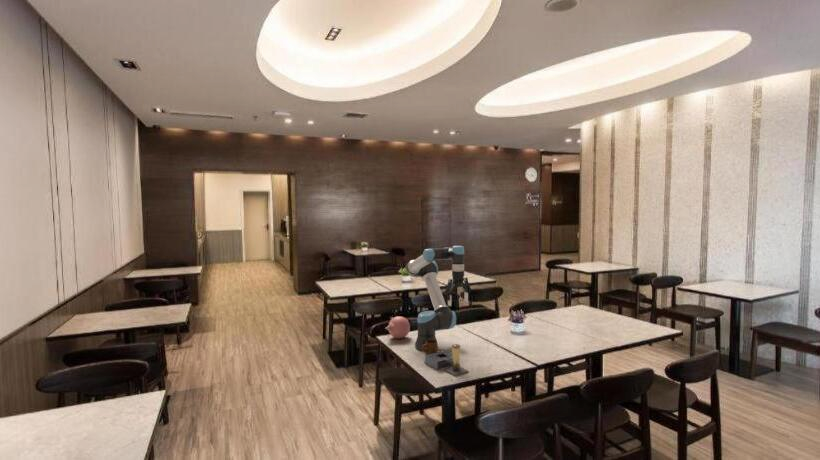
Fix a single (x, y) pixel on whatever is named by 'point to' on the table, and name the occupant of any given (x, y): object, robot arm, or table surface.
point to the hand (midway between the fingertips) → (457, 304)
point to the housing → (439, 360)
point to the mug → (430, 347)
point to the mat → (456, 373)
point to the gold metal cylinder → (456, 357)
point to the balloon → (398, 327)
